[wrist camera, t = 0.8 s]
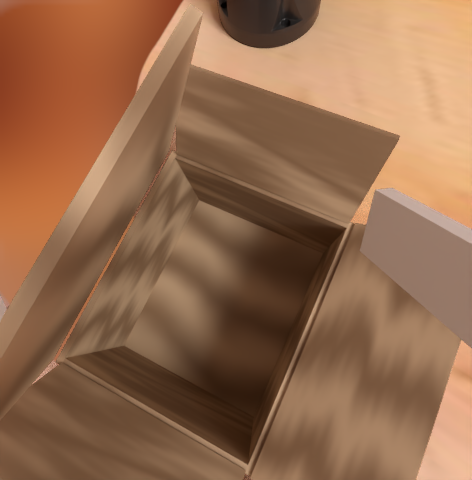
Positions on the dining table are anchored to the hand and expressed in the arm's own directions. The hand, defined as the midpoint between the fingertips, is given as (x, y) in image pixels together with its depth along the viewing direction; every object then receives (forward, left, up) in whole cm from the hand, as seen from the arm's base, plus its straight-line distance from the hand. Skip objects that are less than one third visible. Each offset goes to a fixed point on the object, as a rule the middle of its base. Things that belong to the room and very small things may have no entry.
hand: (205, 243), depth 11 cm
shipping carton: (+2, +2, -28) cm, 28 cm away
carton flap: (+2, -8, -7) cm, 11 cm away
